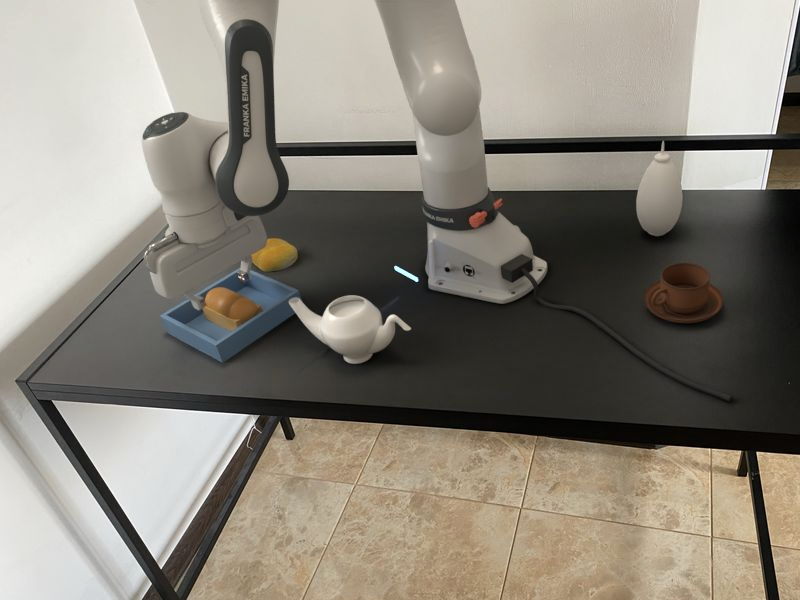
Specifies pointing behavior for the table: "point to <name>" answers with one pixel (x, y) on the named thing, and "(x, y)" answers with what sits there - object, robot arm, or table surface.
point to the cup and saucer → (684, 294)
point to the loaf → (229, 308)
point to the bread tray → (225, 343)
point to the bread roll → (275, 255)
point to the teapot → (350, 327)
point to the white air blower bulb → (659, 196)
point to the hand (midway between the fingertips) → (223, 293)
